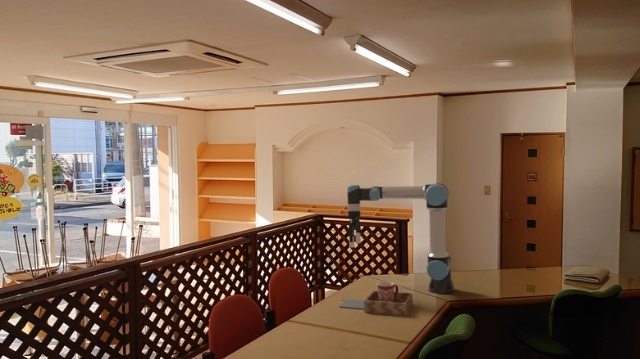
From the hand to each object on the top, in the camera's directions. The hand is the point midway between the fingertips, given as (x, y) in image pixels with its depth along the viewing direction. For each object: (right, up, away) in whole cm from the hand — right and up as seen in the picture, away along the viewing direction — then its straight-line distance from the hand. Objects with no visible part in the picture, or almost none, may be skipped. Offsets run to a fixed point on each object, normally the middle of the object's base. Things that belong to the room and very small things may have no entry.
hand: (355, 245), depth 289 cm
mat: (-2, -29, -26) cm, 39 cm away
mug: (+16, -29, -34) cm, 47 cm away
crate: (+16, -29, -34) cm, 47 cm away
